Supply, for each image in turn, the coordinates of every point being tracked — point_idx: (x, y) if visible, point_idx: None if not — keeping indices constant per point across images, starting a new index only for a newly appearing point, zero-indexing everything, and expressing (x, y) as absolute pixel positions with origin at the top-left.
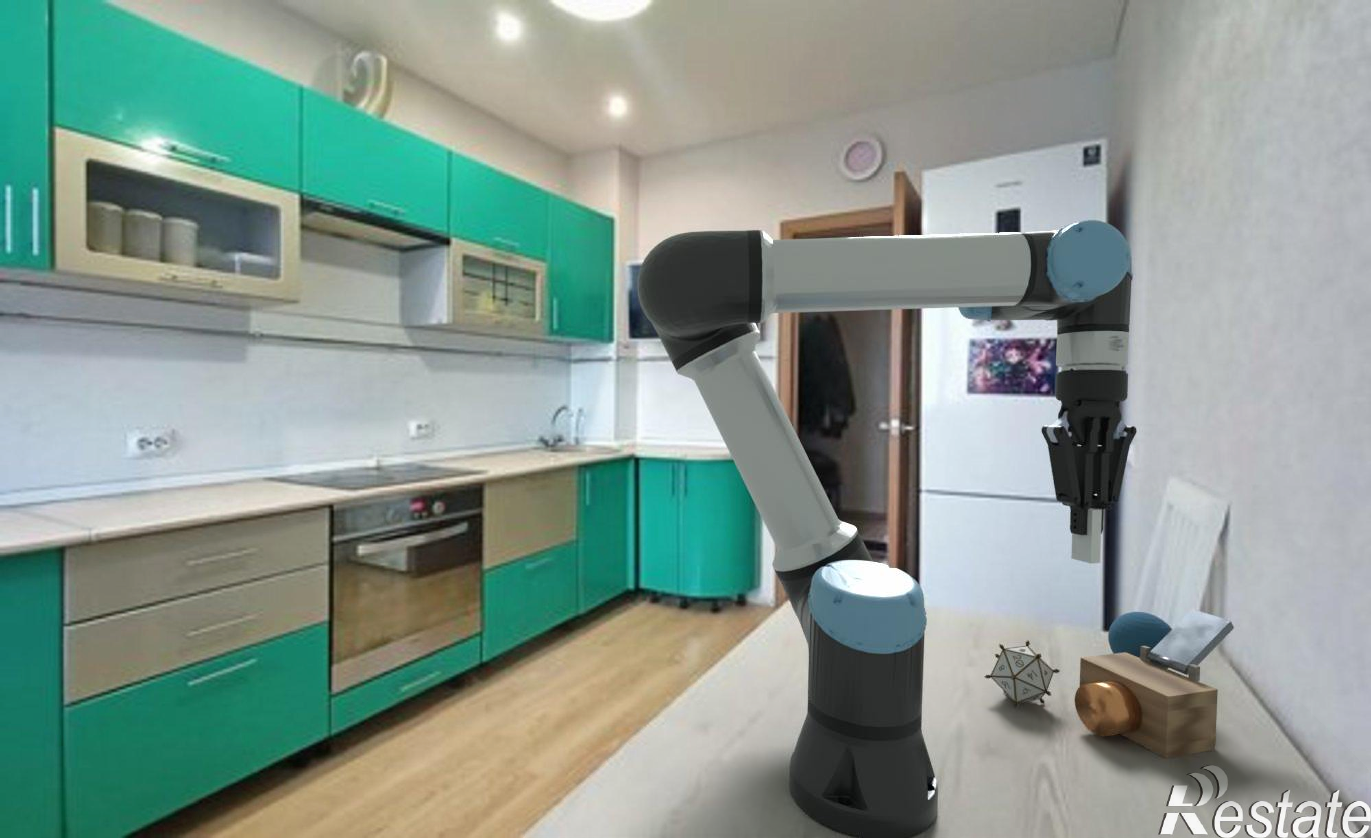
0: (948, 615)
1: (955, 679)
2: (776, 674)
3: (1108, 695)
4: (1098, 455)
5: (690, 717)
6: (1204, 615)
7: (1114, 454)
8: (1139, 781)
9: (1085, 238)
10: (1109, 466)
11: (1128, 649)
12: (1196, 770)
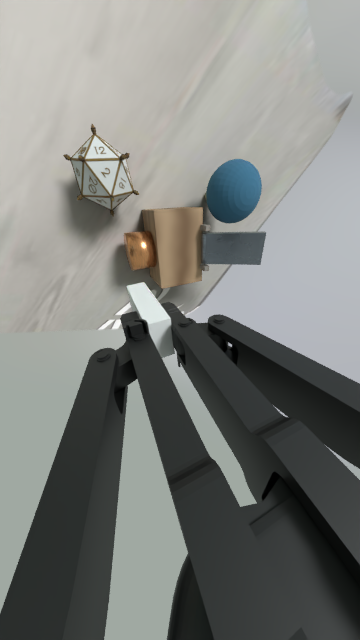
0: None
1: (49, 93)
2: None
3: (133, 265)
4: (238, 456)
5: None
6: (260, 245)
7: (306, 415)
8: (116, 296)
9: None
10: (270, 385)
11: (209, 203)
12: (156, 288)
